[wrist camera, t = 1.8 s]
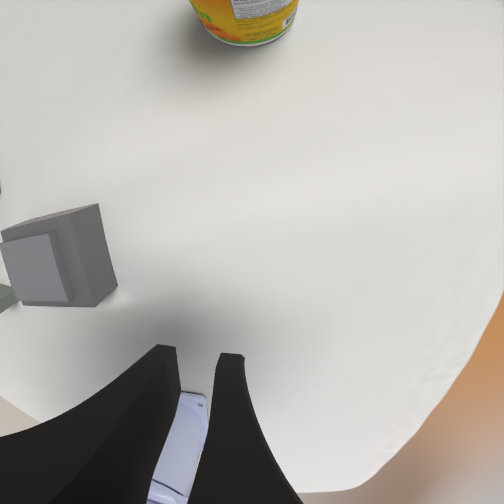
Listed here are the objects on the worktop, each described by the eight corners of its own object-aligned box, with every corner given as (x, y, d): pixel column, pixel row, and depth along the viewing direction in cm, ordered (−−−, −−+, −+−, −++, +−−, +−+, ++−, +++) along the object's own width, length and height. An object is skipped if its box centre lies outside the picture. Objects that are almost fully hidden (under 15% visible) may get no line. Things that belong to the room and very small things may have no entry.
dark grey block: (119, 284, 19) (89, 313, 15) (47, 287, 20) (17, 309, 16) (100, 202, 17) (61, 216, 13) (29, 219, 18) (-7, 234, 14)
